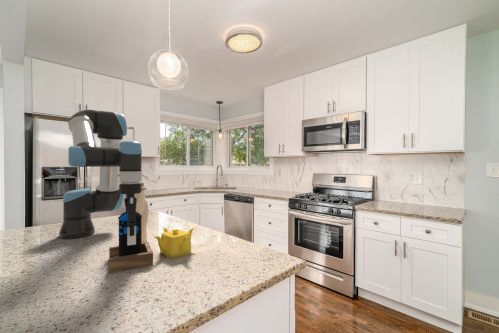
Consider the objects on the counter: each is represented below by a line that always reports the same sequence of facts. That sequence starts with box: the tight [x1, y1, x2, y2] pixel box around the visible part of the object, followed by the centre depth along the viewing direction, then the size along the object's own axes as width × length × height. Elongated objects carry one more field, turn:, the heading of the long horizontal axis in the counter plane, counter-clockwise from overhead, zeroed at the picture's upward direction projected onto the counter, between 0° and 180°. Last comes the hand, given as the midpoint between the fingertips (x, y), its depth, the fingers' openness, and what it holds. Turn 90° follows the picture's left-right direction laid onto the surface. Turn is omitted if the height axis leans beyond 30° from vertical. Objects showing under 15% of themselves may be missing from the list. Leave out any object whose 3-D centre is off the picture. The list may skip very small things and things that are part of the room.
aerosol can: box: [117, 210, 142, 257], centre depth 91 cm, size 8×8×20 cm
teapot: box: [153, 227, 196, 259], centre depth 101 cm, size 15×14×10 cm
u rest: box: [108, 241, 154, 274], centre depth 91 cm, size 14×14×4 cm
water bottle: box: [134, 182, 150, 243], centre depth 112 cm, size 10×9×28 cm
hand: (130, 239), depth 91 cm, fingers open, 13 cm apart
